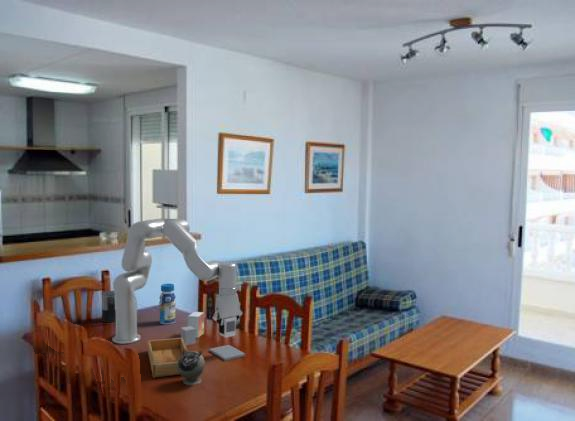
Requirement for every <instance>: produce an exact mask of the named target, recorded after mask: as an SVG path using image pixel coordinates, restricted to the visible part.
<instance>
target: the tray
mask: <svg viewBox="0 0 575 421" xmlns="http://www.w3.org/2000/svg"><path fill="white" fill-rule="evenodd" d="M184 349H185V350H186V351H187V352H188V351H189V350H188V347H187V345H185V343H184V340H183V338H181V337H176V338H175V337H173V338H163V339H161V338H160V339H152V340H147V355H148V359H149V363H150V369H151V372H152V378H159V377H160V378H161V377H168V376H170V377H171V376H178V375H180V373H179V371H178V368H177V364H178V360H179V358H180V357H181V356H182V355H183V350H184Z"/></svg>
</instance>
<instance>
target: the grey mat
mask: <svg viewBox="0 0 575 421" xmlns="http://www.w3.org/2000/svg"><path fill="white" fill-rule="evenodd" d="M208 351H209V352H210V353H212V354H213V355H215V356H216V357H218V358H220V359H221V360H223V361H224V362H227V361H230V360H234V359H238V358H242V357H246V353H244V352H243V351H241V350H239V349H238V348H236V347H234V346H232V345H230V344H226V345H222V346H221V345H220V346H216V347H213V348H209V350H208Z"/></svg>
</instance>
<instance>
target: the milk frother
mask: <svg viewBox="0 0 575 421" xmlns="http://www.w3.org/2000/svg"><path fill="white" fill-rule="evenodd" d="M100 295H101V322H104V323H111V322H112V323H114V322H116V306H115V293H114V290H106V291H102V292H101V294H100Z"/></svg>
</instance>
